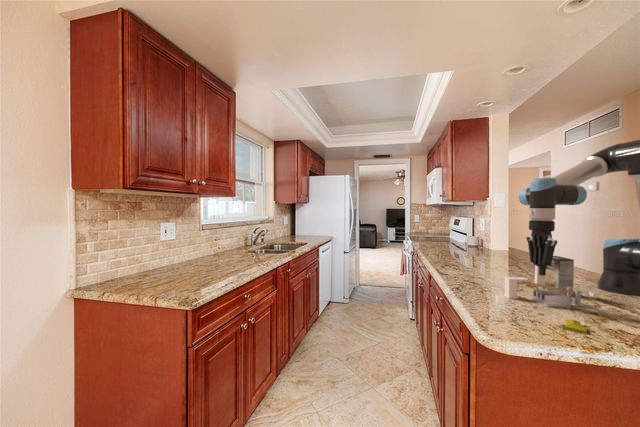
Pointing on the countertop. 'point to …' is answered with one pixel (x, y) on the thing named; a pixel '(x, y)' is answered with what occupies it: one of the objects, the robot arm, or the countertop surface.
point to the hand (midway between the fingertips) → (539, 283)
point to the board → (578, 303)
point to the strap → (550, 287)
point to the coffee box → (559, 274)
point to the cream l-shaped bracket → (512, 286)
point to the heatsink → (551, 298)
